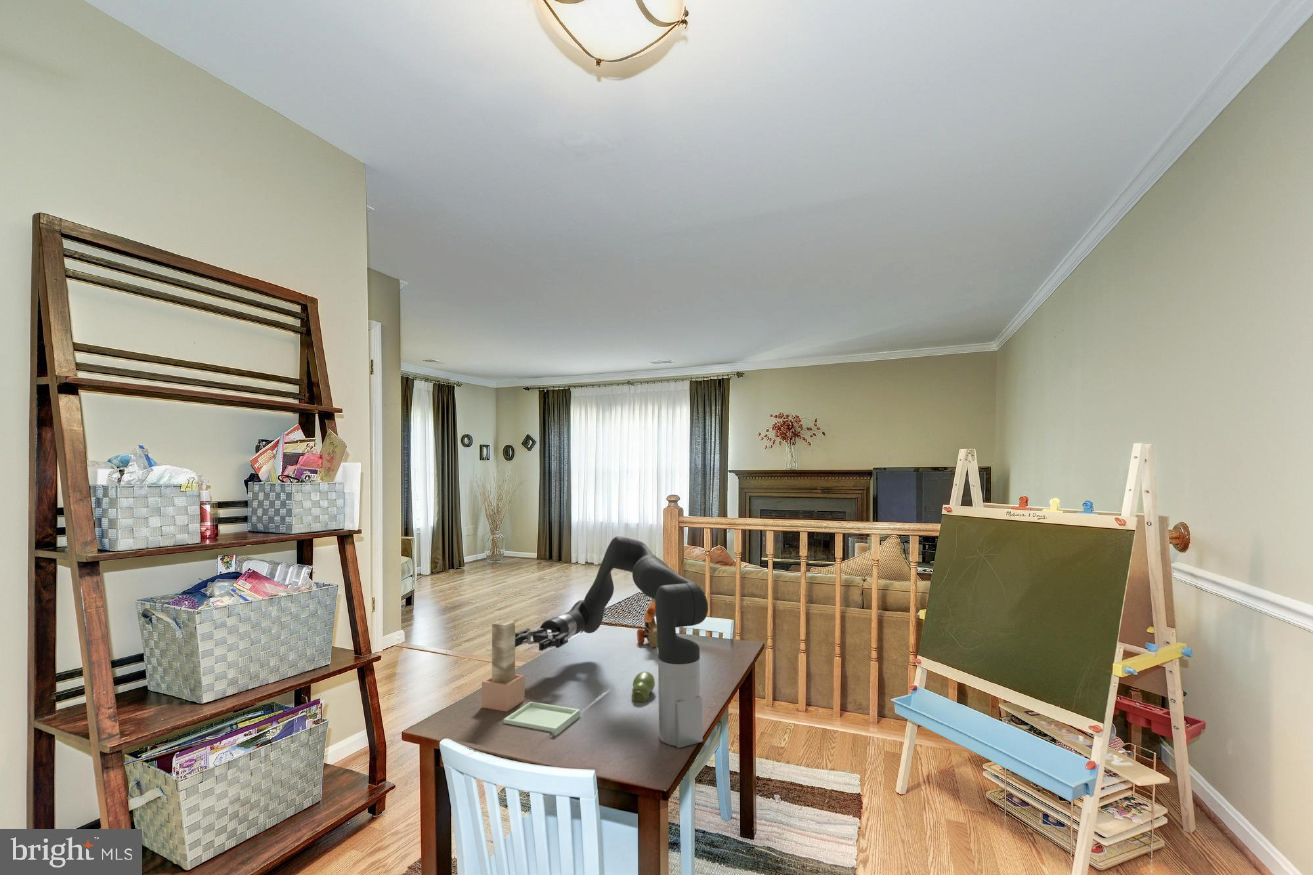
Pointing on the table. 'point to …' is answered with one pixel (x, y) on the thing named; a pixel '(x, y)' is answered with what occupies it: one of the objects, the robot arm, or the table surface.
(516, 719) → the tray
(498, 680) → the post
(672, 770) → the table surface
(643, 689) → the pear
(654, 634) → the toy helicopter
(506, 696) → the salmon pink open box
